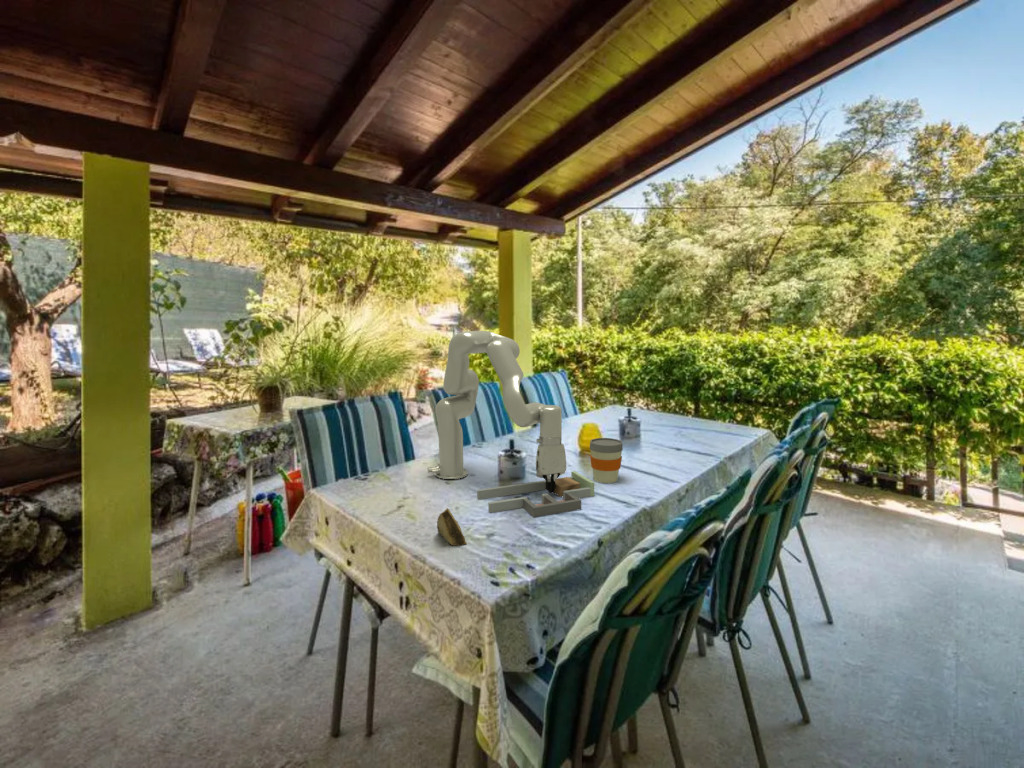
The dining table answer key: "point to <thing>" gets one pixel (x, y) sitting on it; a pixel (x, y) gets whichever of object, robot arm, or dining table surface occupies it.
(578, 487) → the walnut block
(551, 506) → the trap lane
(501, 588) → the dining table surface
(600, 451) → the reusable coffee cup
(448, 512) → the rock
